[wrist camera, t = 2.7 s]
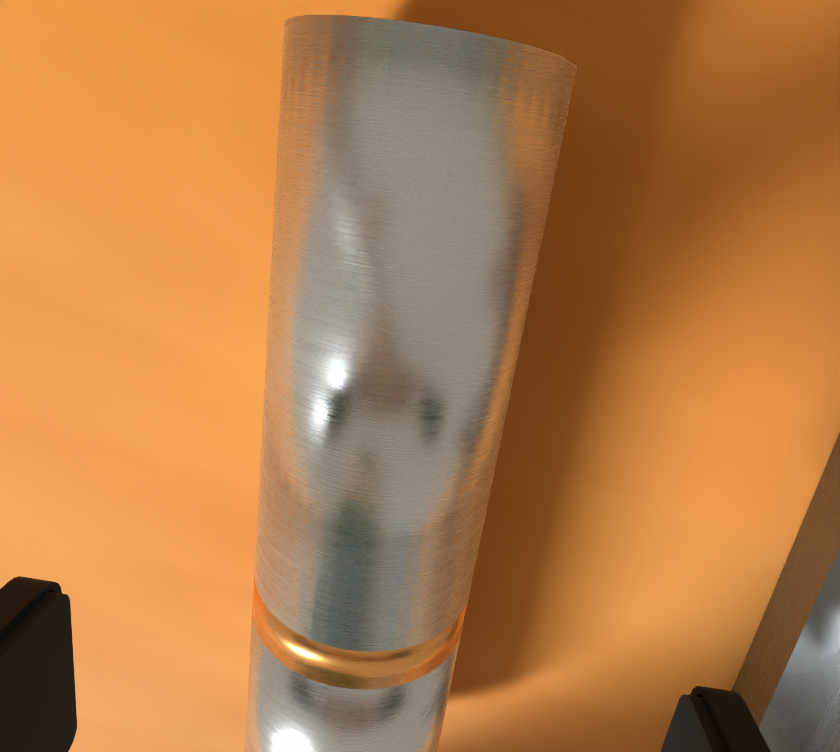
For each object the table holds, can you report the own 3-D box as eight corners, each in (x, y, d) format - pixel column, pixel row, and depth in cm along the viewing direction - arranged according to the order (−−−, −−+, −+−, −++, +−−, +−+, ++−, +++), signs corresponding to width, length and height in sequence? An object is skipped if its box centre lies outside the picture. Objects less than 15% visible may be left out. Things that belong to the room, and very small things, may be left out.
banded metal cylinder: (325, 49, 13) (237, -3, 9) (560, 83, 13) (600, 49, 8) (276, 687, 20) (211, 856, 15) (434, 718, 19) (417, 898, 15)
